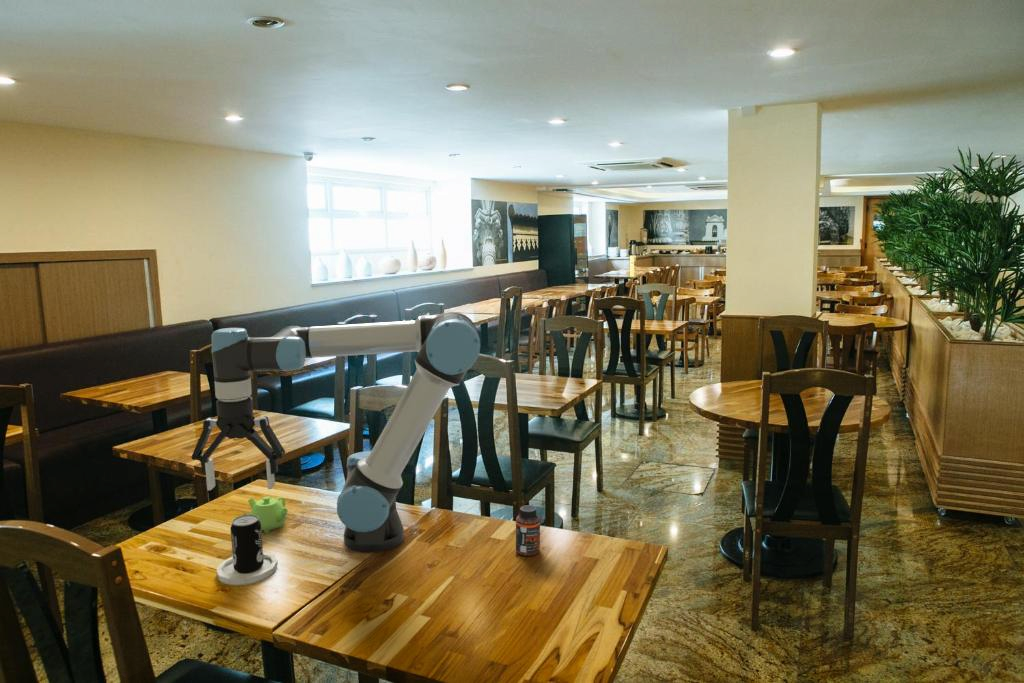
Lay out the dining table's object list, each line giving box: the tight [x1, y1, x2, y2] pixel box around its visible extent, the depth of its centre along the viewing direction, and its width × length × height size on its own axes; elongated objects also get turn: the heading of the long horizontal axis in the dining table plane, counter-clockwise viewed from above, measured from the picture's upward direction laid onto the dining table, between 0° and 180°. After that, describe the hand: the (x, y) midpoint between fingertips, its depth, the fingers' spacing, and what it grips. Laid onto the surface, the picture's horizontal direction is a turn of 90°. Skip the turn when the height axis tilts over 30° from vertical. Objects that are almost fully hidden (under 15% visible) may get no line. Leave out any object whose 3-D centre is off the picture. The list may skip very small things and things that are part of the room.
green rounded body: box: [242, 496, 289, 534], centre depth 185 cm, size 11×12×8 cm
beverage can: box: [230, 514, 264, 574], centre depth 161 cm, size 7×7×12 cm
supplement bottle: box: [515, 504, 541, 557], centre depth 170 cm, size 6×6×11 cm
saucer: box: [216, 551, 279, 587], centre depth 162 cm, size 13×13×2 cm
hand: (241, 487), depth 159 cm, fingers open, 13 cm apart
